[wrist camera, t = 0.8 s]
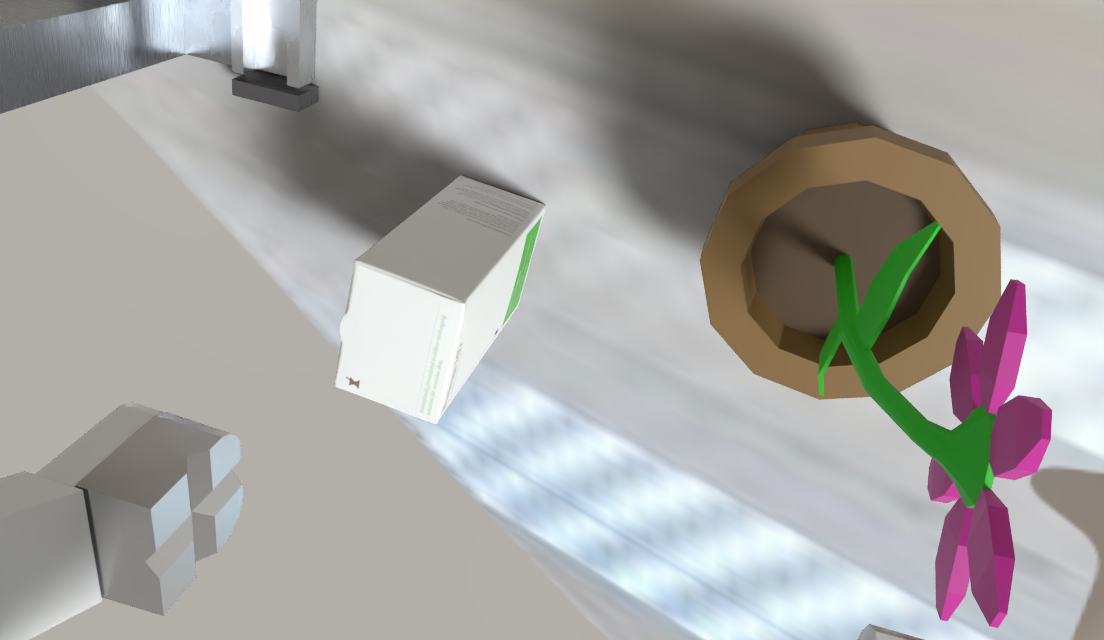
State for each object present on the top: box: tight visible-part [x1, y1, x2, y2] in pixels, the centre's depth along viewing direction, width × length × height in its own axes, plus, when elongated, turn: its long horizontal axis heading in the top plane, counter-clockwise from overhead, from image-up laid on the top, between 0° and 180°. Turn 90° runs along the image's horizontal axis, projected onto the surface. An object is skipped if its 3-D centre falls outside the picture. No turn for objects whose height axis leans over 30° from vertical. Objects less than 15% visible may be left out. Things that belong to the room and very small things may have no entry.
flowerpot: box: [700, 122, 1052, 628], centre depth 38 cm, size 14×14×30 cm
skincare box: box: [335, 175, 546, 424], centre depth 51 cm, size 8×7×16 cm
